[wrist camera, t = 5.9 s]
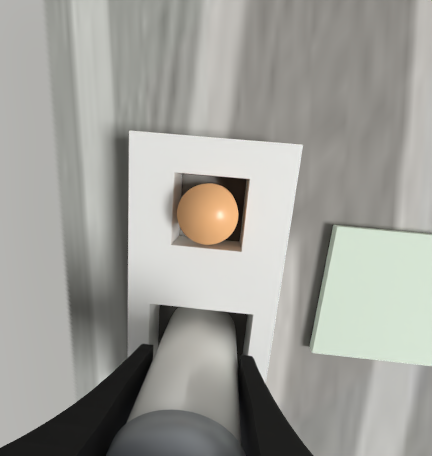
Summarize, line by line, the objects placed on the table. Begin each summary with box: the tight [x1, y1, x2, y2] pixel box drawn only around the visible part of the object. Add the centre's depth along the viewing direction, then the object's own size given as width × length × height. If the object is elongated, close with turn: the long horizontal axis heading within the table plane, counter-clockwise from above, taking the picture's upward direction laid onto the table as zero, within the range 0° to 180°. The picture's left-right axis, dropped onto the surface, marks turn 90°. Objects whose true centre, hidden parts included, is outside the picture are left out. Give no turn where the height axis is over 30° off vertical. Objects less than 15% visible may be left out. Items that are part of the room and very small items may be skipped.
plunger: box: [177, 183, 238, 245], centre depth 12 cm, size 3×3×2 cm
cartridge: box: [106, 307, 246, 456], centre depth 11 cm, size 5×5×8 cm
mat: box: [310, 225, 432, 366], centre depth 13 cm, size 8×8×1 cm
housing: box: [127, 131, 303, 384], centre depth 13 cm, size 16×8×2 cm, turn 175°
